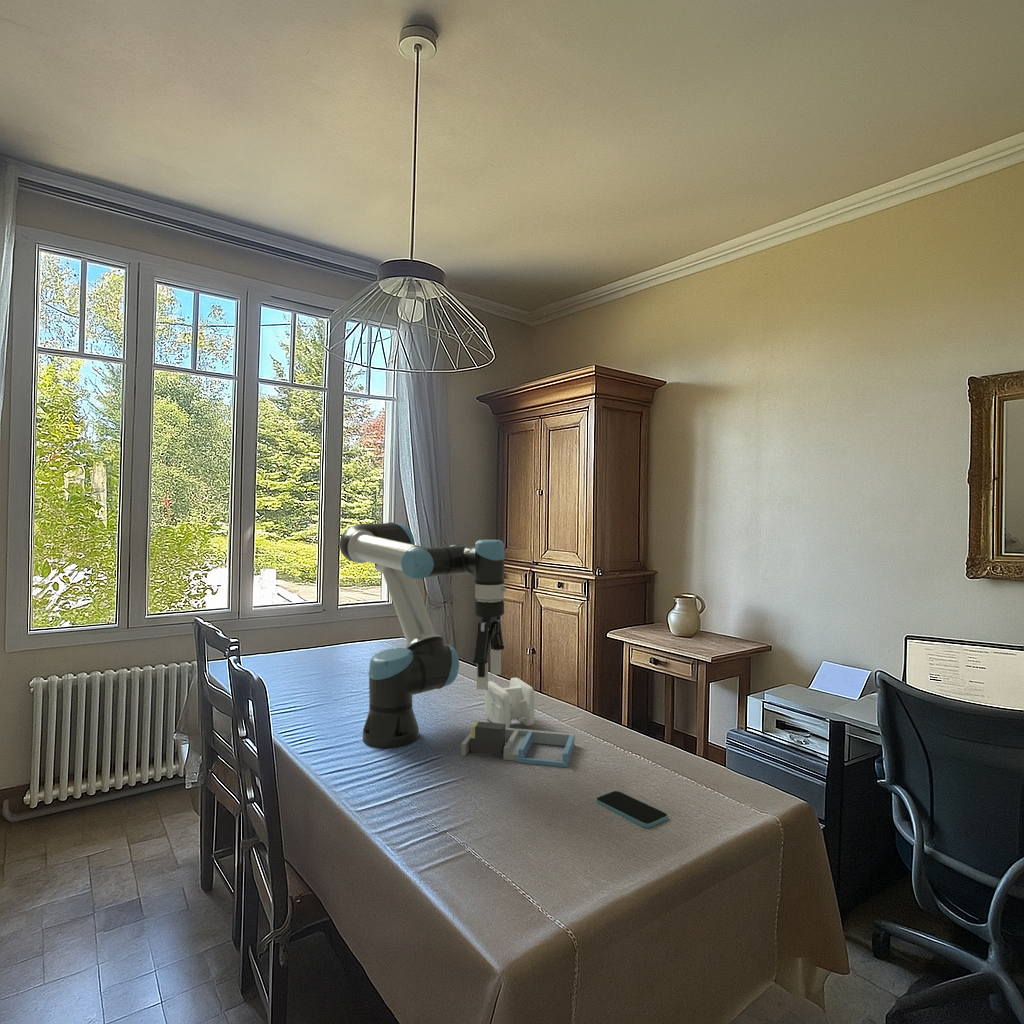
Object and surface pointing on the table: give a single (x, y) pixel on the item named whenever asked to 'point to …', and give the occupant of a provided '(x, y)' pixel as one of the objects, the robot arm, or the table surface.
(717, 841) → the table surface
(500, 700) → the cable organizer
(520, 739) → the grey frame
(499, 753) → the yellow-capped grey block
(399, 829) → the table surface
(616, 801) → the smartphone
